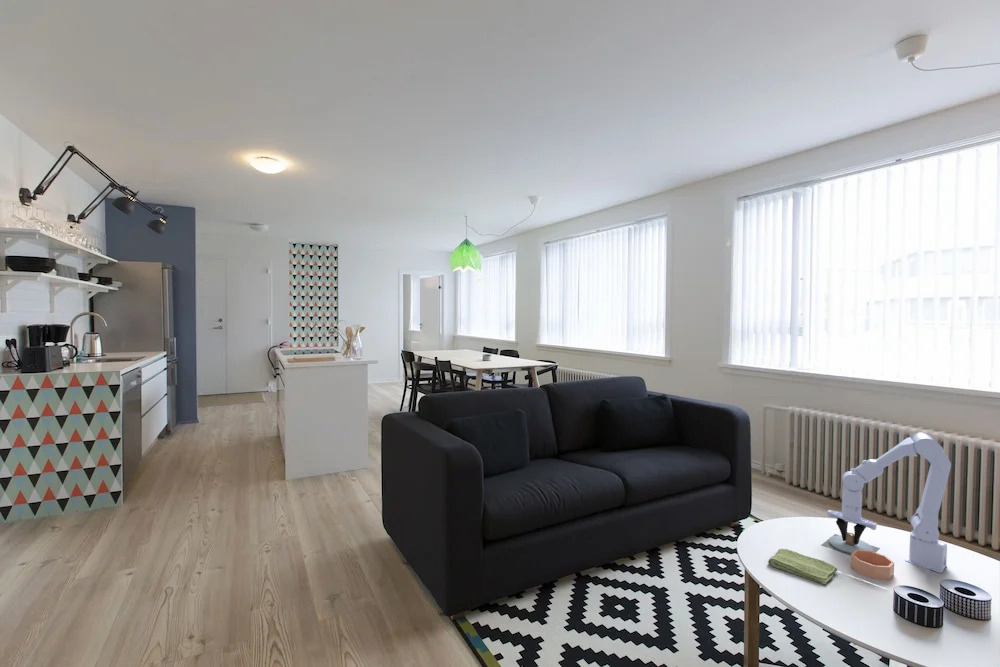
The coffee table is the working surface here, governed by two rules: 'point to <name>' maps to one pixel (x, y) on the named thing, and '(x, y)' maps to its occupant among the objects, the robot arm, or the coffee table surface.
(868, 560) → the bowl
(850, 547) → the lid
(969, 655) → the coffee table surface
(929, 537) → the robot arm
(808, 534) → the coffee table surface
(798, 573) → the washcloth
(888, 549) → the coffee table surface
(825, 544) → the mat
